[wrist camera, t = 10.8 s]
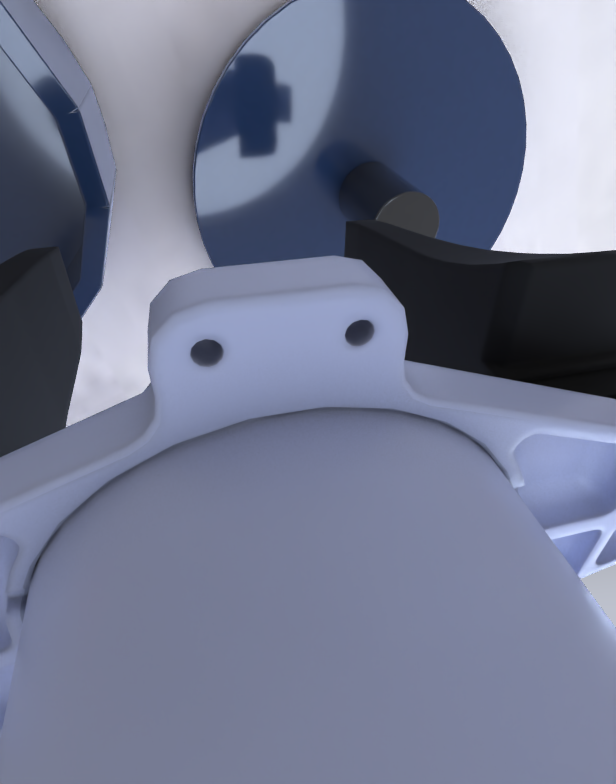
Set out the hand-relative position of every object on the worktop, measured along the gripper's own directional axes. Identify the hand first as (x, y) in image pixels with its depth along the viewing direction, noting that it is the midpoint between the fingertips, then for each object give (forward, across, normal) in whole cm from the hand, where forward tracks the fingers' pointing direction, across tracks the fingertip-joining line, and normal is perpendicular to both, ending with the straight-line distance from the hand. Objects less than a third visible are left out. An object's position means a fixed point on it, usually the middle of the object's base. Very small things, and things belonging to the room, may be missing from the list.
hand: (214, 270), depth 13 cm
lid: (+8, -7, +1) cm, 11 cm away
